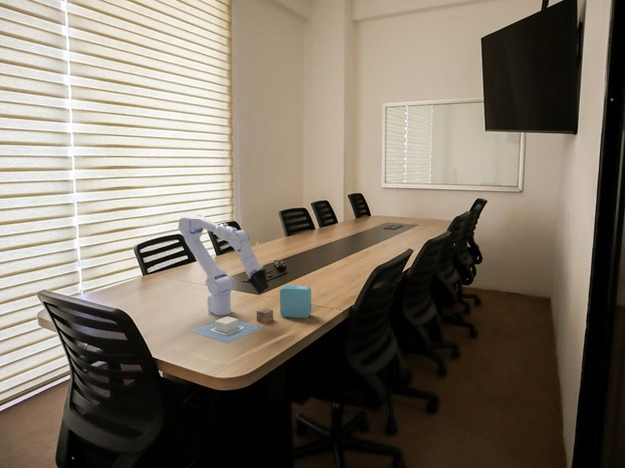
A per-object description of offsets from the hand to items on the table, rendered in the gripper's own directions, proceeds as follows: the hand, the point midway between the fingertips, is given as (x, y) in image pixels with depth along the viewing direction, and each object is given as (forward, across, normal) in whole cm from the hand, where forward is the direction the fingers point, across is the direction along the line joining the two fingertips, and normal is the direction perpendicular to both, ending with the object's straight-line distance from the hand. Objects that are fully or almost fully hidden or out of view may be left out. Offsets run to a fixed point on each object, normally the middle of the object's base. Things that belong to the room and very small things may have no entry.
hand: (263, 290), depth 170 cm
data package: (+14, +9, -10) cm, 20 cm away
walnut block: (+11, +6, +3) cm, 13 cm away
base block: (+7, +3, +18) cm, 19 cm away
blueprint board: (+8, +3, +18) cm, 20 cm away
